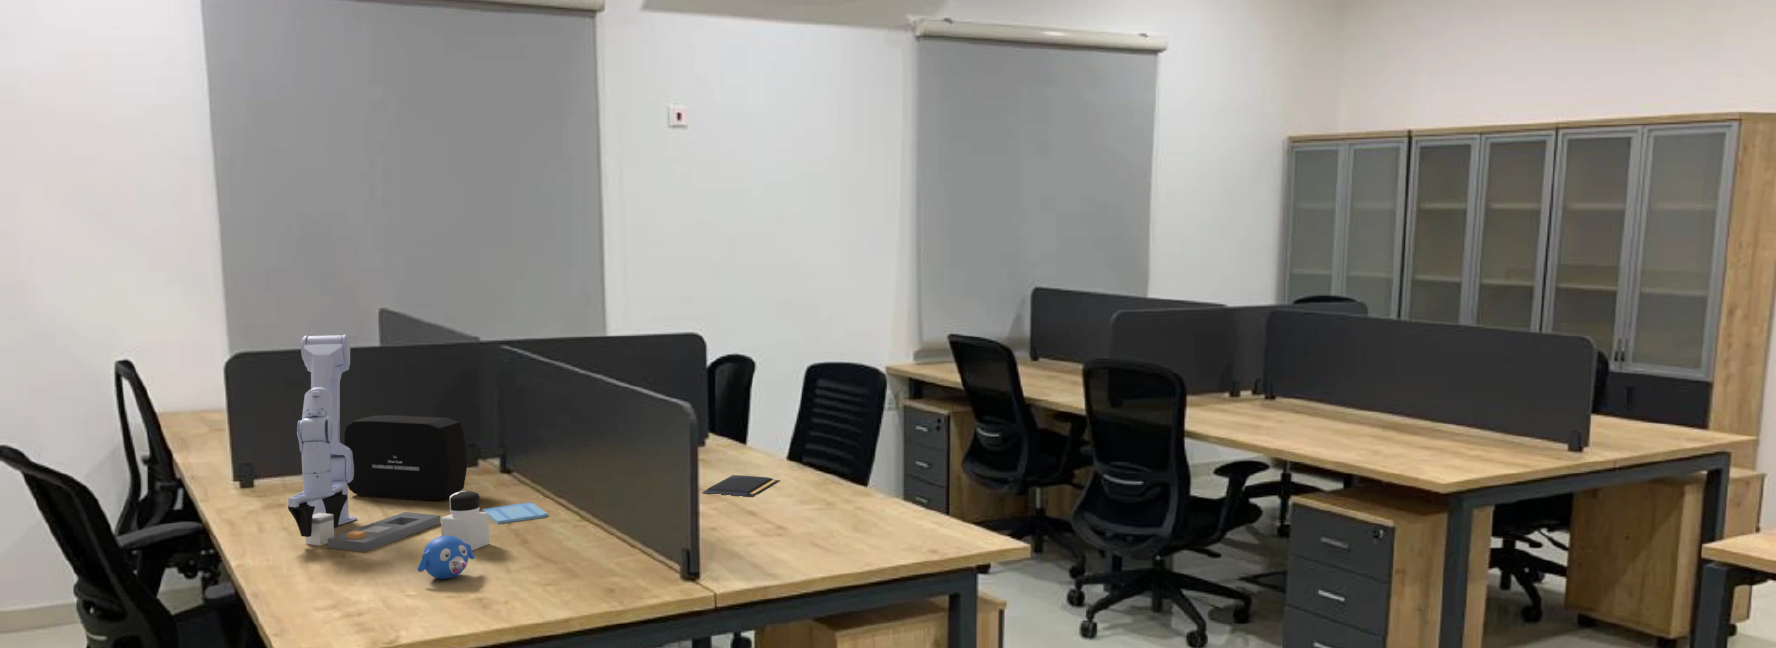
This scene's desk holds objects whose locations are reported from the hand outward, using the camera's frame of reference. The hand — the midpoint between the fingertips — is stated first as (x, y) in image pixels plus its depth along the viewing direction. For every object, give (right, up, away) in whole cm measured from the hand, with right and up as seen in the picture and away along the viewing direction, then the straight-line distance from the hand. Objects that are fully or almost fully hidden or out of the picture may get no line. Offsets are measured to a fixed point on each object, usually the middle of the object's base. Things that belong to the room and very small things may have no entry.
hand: (319, 531), depth 257 cm
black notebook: (+87, +2, +53) cm, 101 cm away
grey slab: (+12, -2, +6) cm, 14 cm away
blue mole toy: (+39, -5, -26) cm, 47 cm away
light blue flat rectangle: (+35, -1, +24) cm, 43 cm away
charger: (0, -2, 0) cm, 2 cm away
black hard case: (+2, +2, +45) cm, 45 cm away
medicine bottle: (+34, -3, -3) cm, 34 cm away
